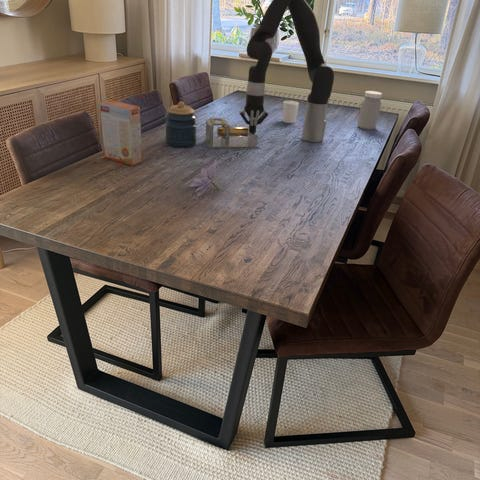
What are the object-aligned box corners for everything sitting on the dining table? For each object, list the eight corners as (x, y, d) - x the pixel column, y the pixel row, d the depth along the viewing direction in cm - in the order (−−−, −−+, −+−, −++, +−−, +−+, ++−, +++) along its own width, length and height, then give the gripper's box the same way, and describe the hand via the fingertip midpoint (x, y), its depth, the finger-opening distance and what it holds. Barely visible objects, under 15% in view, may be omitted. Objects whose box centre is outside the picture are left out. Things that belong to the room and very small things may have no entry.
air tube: (245, 135, 194) (246, 125, 192) (248, 138, 191) (248, 128, 189) (216, 135, 191) (217, 125, 189) (218, 138, 188) (219, 128, 186)
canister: (190, 150, 182) (191, 107, 173) (161, 146, 184) (160, 103, 175) (199, 141, 193) (200, 100, 184) (171, 137, 195) (171, 96, 186)
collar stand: (252, 140, 200) (254, 117, 195) (258, 148, 191) (261, 124, 186) (204, 140, 194) (205, 117, 189) (208, 148, 185) (209, 124, 180)
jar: (373, 125, 237) (381, 91, 228) (377, 131, 228) (385, 95, 219) (355, 124, 237) (362, 89, 228) (358, 129, 229) (365, 93, 220)
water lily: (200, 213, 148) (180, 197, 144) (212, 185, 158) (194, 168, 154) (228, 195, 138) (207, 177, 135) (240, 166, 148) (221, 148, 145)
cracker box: (143, 162, 166) (140, 106, 156) (132, 166, 162) (128, 109, 151) (115, 153, 172) (111, 99, 161) (104, 157, 167) (99, 101, 157)
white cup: (296, 124, 228) (299, 104, 223) (281, 123, 228) (284, 103, 223) (295, 120, 235) (298, 101, 230) (280, 119, 235) (283, 99, 230)
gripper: (268, 91, 188) (264, 131, 197) (238, 90, 185) (235, 131, 194) (273, 95, 182) (268, 136, 191) (242, 94, 179) (239, 136, 188)
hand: (251, 133), depth 192 cm, fingers closed
